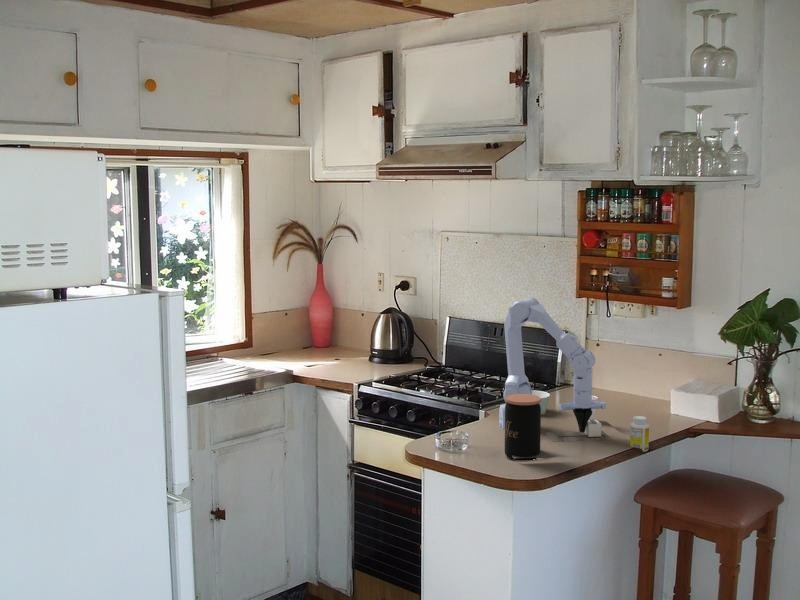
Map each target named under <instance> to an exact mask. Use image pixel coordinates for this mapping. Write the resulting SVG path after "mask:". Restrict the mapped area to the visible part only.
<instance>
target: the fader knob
mask: <svg viewBox="0 0 800 600" xmlns="http://www.w3.org/2000/svg"><path fill="white" fill-rule="evenodd" d="M601 431H602V423H601V422H600V421H598V420H597V419H595V420H594V419H592V418H589V420H588V423H587V425H586V429H585V432H584V433H585V434H586V435H588V436H589V437H595V436H601Z"/></svg>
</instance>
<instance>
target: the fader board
mask: <svg viewBox="0 0 800 600" xmlns="http://www.w3.org/2000/svg"><path fill="white" fill-rule="evenodd" d="M545 435H546V436H547V437H548V438H549V439H550V440H551V441H552V442H553V443H554V442H557V443H558V442H579V441H580V442H582V441H587V442H588V441H602V440H603V441H606V440H607V441H611V440H613V438H612V437H610V436H609V434H607V433H606V432H605V431H604V430H601V436H595V437H589V436H588V435H586V434H585V433H584V432H580V431H558V432H557V431H555V432H545Z"/></svg>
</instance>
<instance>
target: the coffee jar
mask: <svg viewBox="0 0 800 600" xmlns="http://www.w3.org/2000/svg"><path fill="white" fill-rule="evenodd" d="M505 401H506V402H505ZM504 402H505V404H506V405H505V429H504V454H505V456H506V457H507V458H508V457H509V458H511V459H510V460H512V459H515V460H514V461H516V460H532V461H534V460H533V459H535V460H537V459H538V458H539V457H536V456H538V455H541V430H542V427H541V425H542V423H541V421H542V419H541V418H542V417H541V416H542V415H541V406H540V404H539V403H540V402H541V398H540V397H539V396H535V395H530V394H513V395H508V396H506V397H505V400H504ZM509 458H508V459H509ZM536 458H537V459H536Z"/></svg>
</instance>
